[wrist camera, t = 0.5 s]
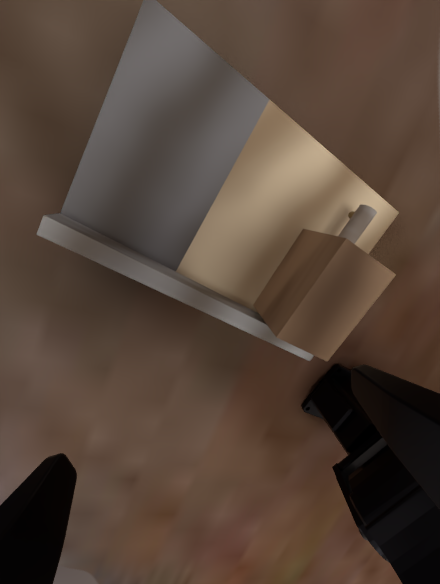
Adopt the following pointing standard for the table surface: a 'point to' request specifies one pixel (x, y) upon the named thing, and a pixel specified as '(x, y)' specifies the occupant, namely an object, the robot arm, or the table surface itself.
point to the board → (201, 180)
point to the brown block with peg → (323, 288)
